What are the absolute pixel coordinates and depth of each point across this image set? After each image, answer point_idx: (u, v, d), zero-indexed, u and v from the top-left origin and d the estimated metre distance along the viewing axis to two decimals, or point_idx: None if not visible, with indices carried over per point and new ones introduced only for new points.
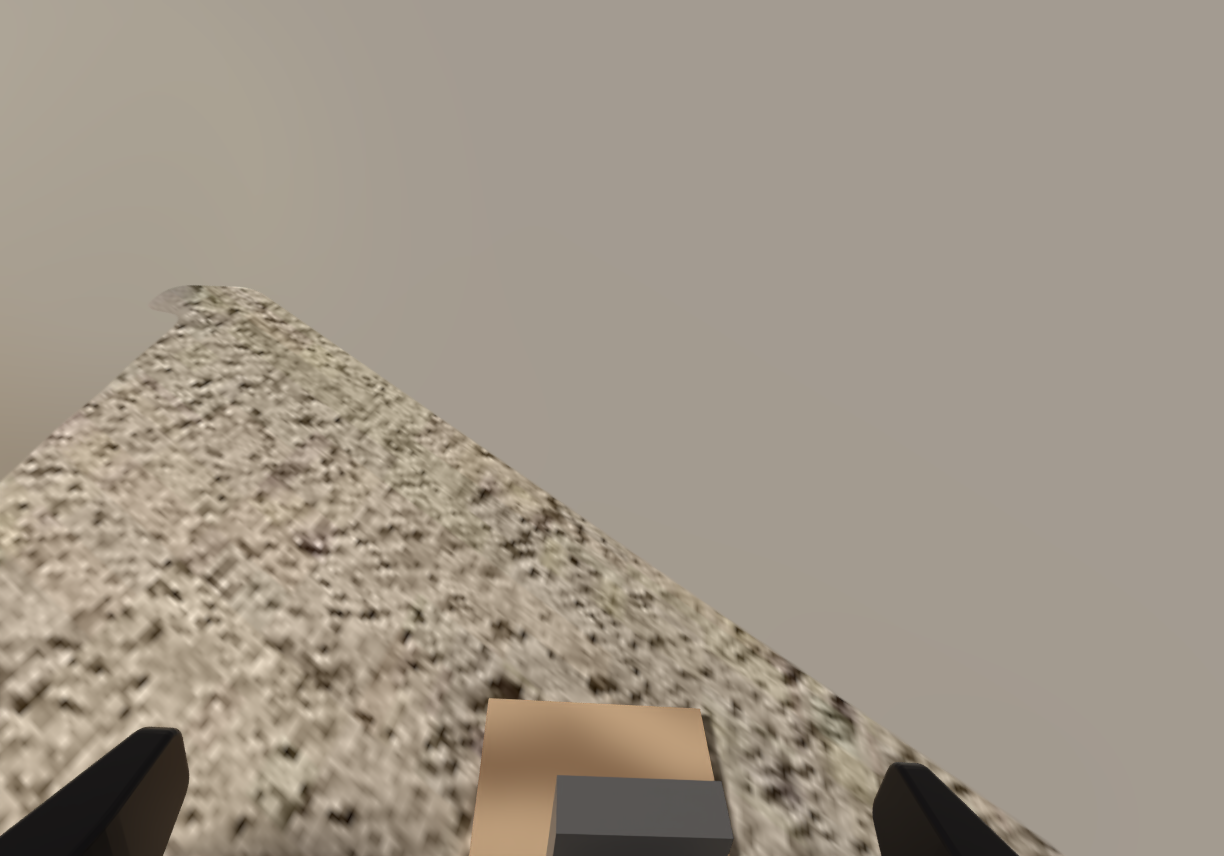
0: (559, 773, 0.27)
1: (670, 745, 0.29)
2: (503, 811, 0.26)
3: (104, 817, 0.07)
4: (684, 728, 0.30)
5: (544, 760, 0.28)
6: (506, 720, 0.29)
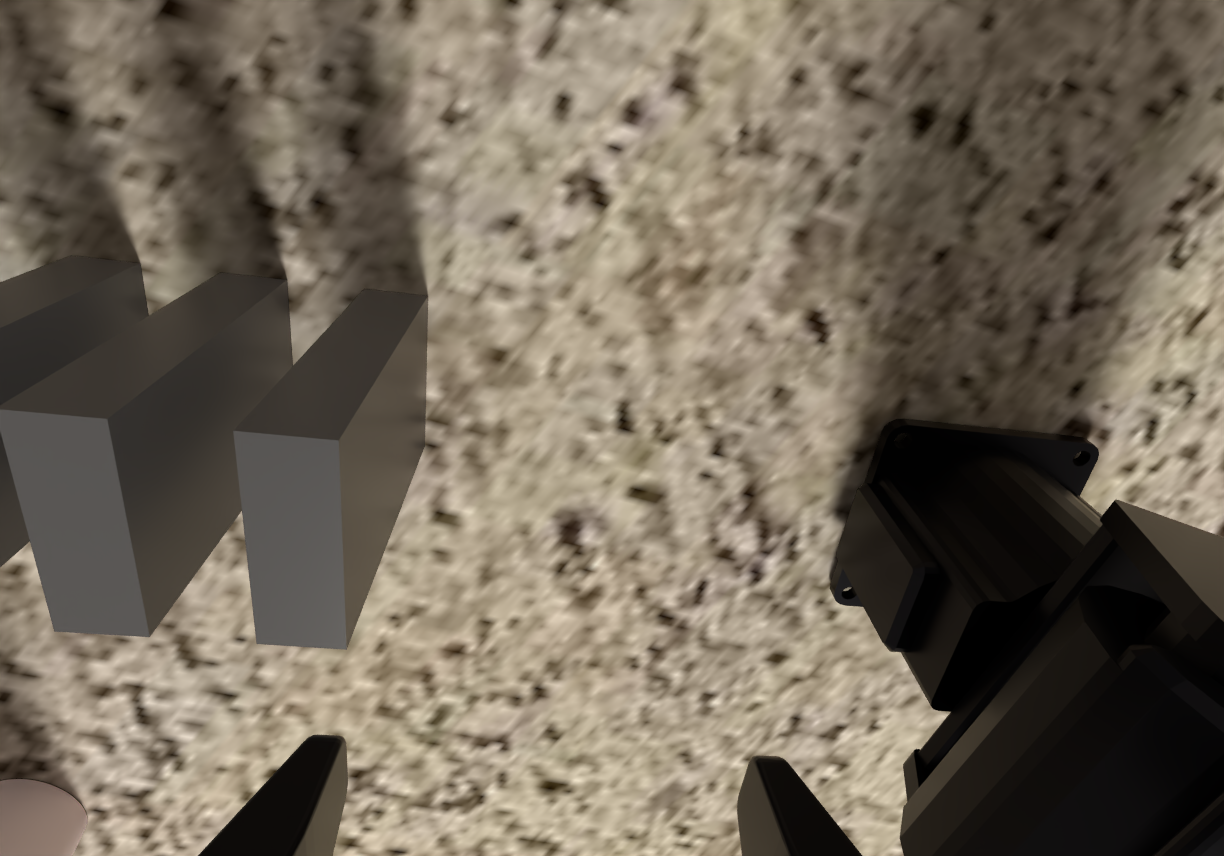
0: None
1: None
2: None
3: (301, 824, 0.07)
4: None
5: None
6: None
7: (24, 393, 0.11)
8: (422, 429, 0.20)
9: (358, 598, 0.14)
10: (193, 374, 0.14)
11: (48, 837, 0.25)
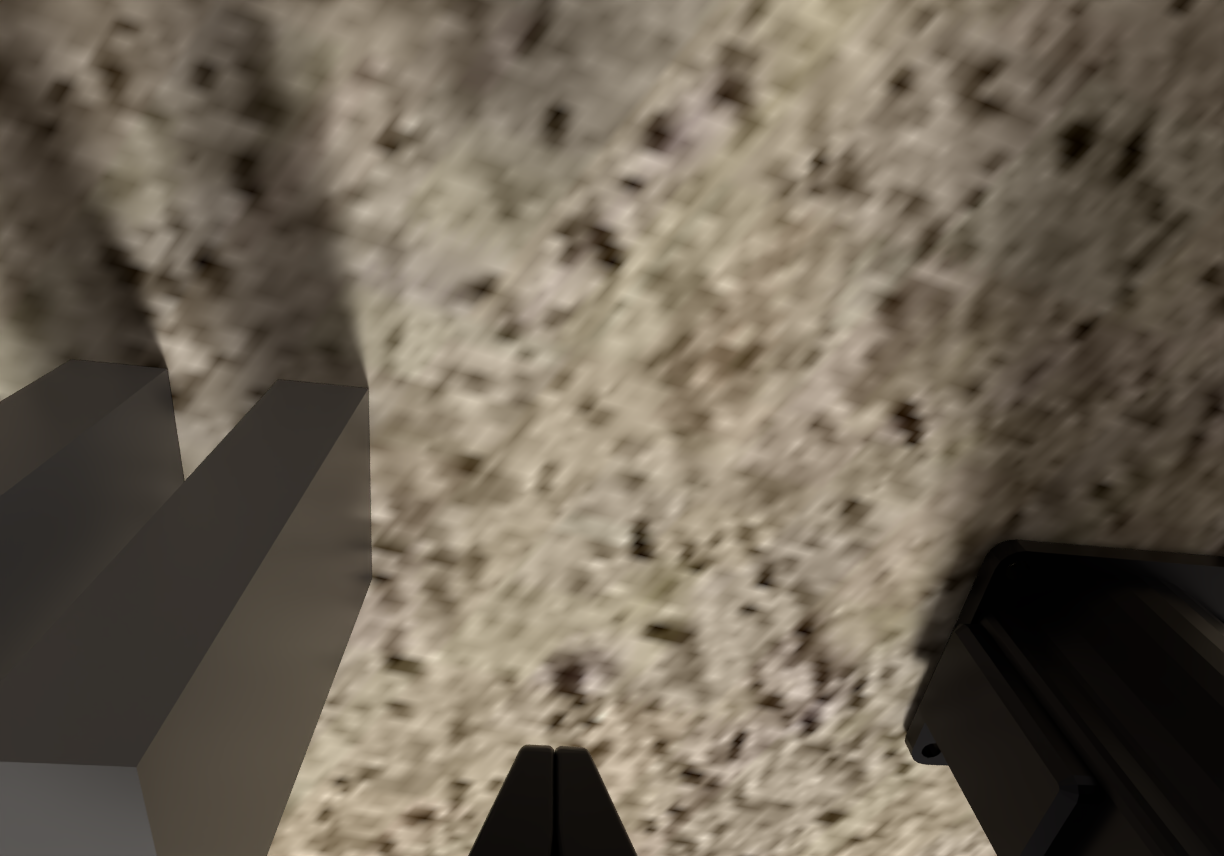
0: None
1: None
2: None
3: (548, 832, 0.08)
4: None
5: None
6: None
7: None
8: (366, 562, 0.14)
9: None
10: None
11: None
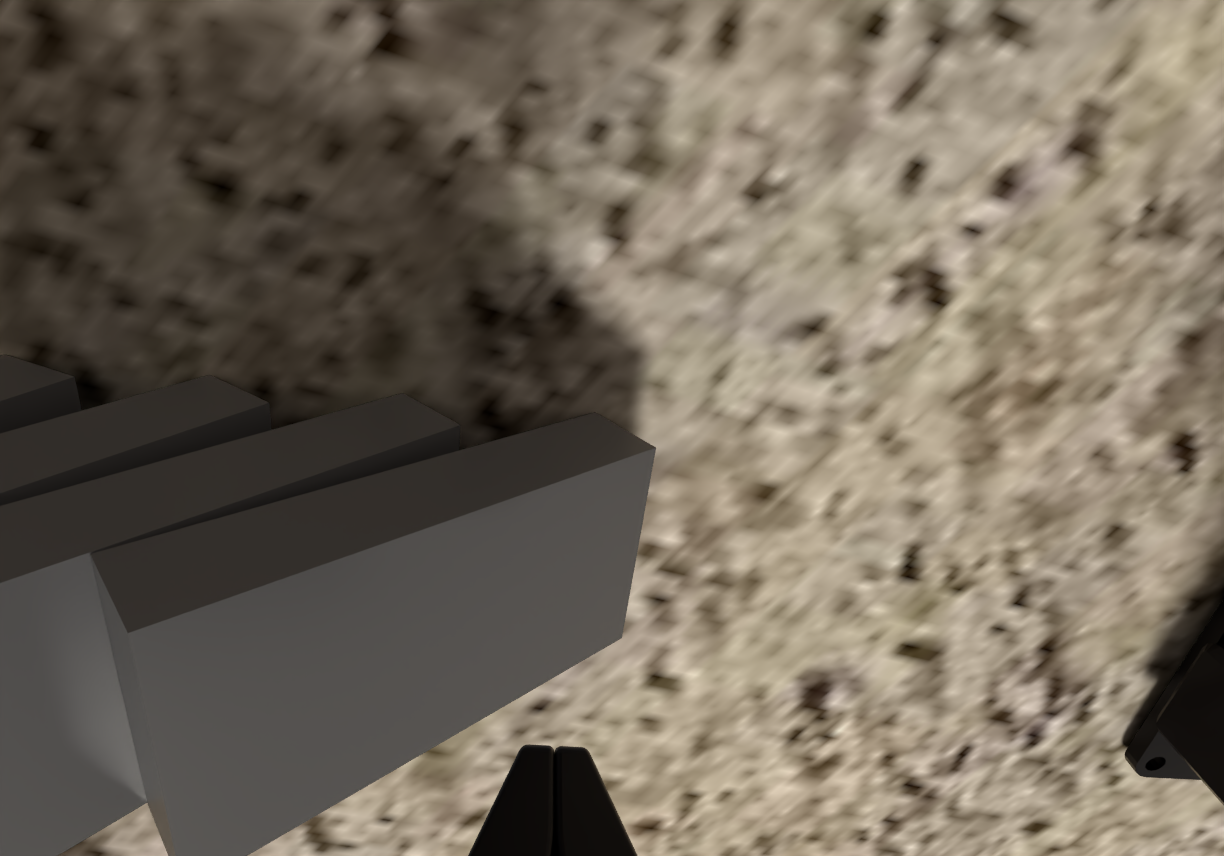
0: None
1: None
2: None
3: (548, 832, 0.08)
4: None
5: None
6: None
7: None
8: (611, 617, 0.14)
9: (251, 829, 0.10)
10: None
11: None
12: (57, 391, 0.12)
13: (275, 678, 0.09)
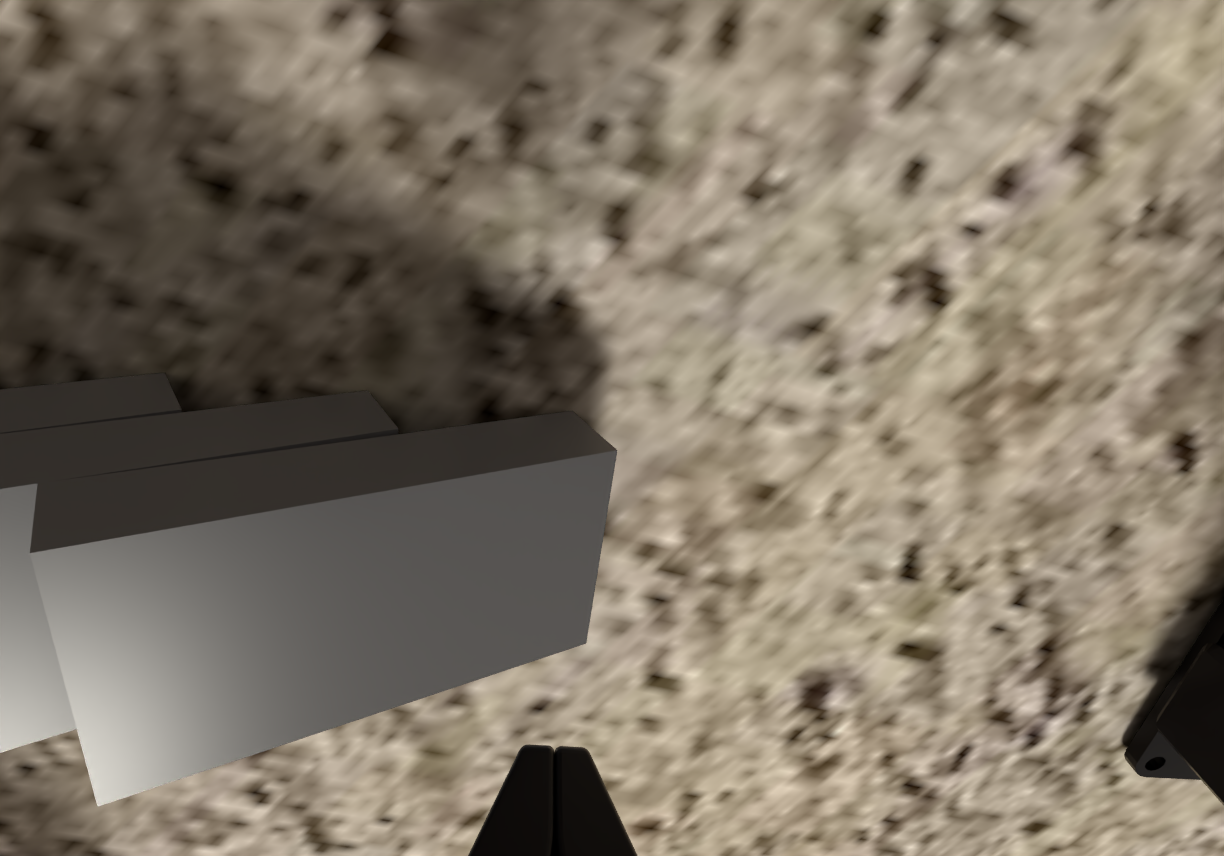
0: None
1: None
2: None
3: (548, 833, 0.08)
4: None
5: None
6: None
7: None
8: (571, 620, 0.14)
9: (166, 760, 0.10)
10: None
11: None
12: None
13: (184, 619, 0.10)
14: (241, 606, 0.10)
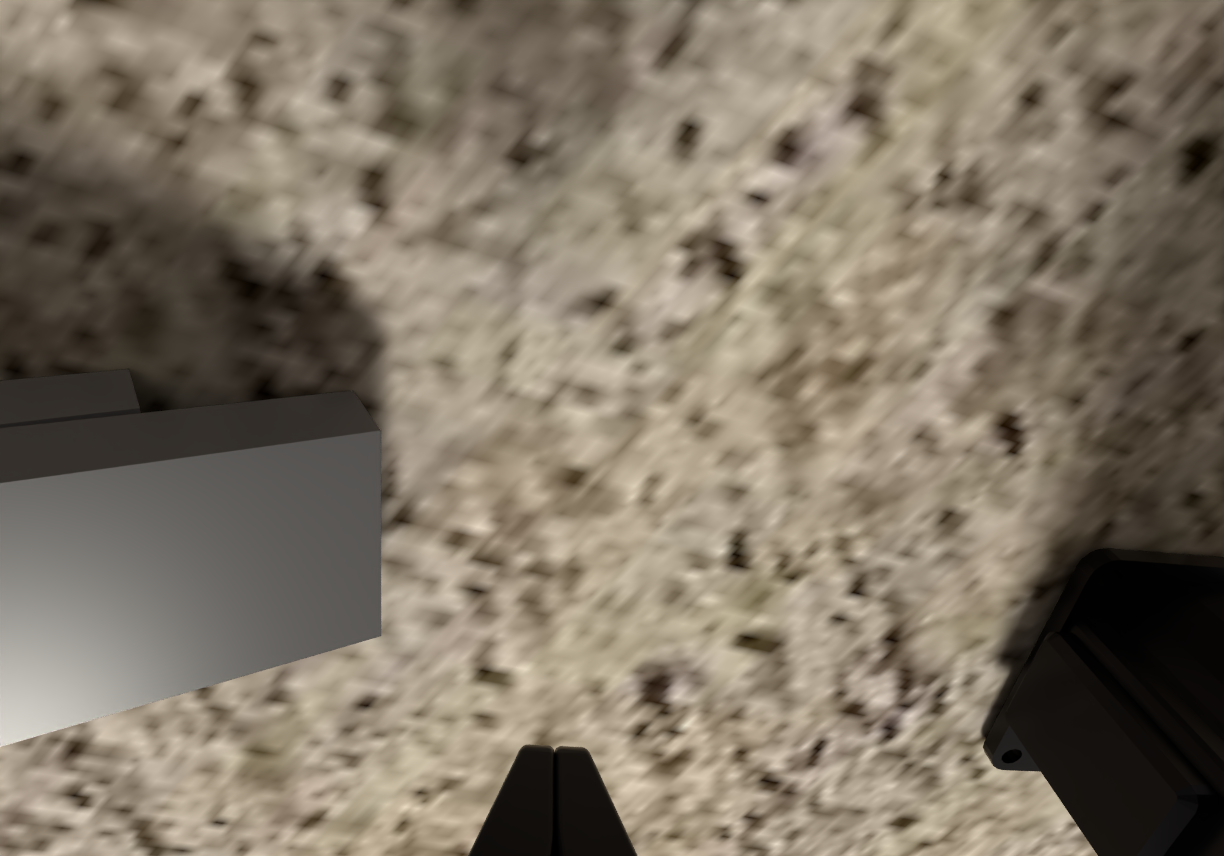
0: None
1: None
2: None
3: (548, 832, 0.08)
4: None
5: None
6: None
7: None
8: (357, 611, 0.13)
9: None
10: None
11: None
12: None
13: None
14: None
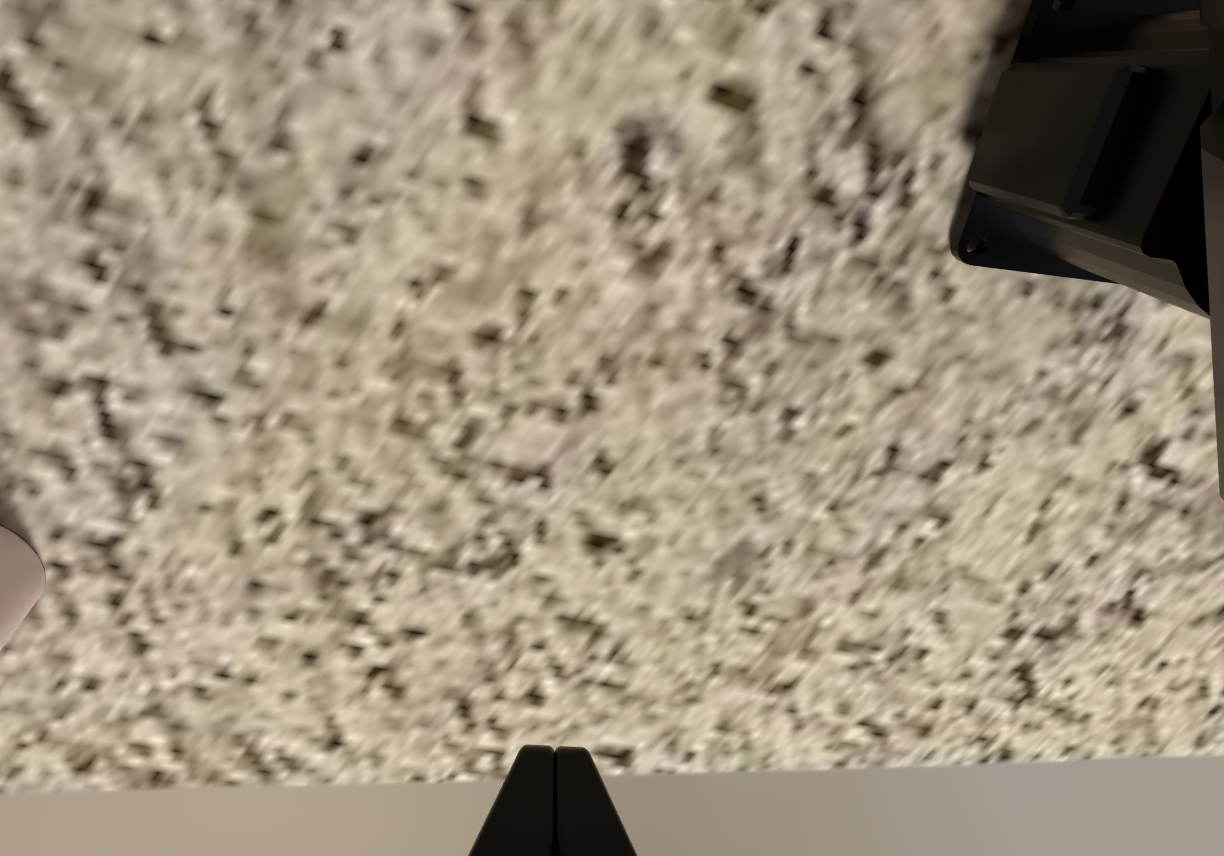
0: None
1: None
2: None
3: (547, 833, 0.08)
4: None
5: None
6: None
7: None
8: None
9: None
10: None
11: None
12: None
13: None
14: None
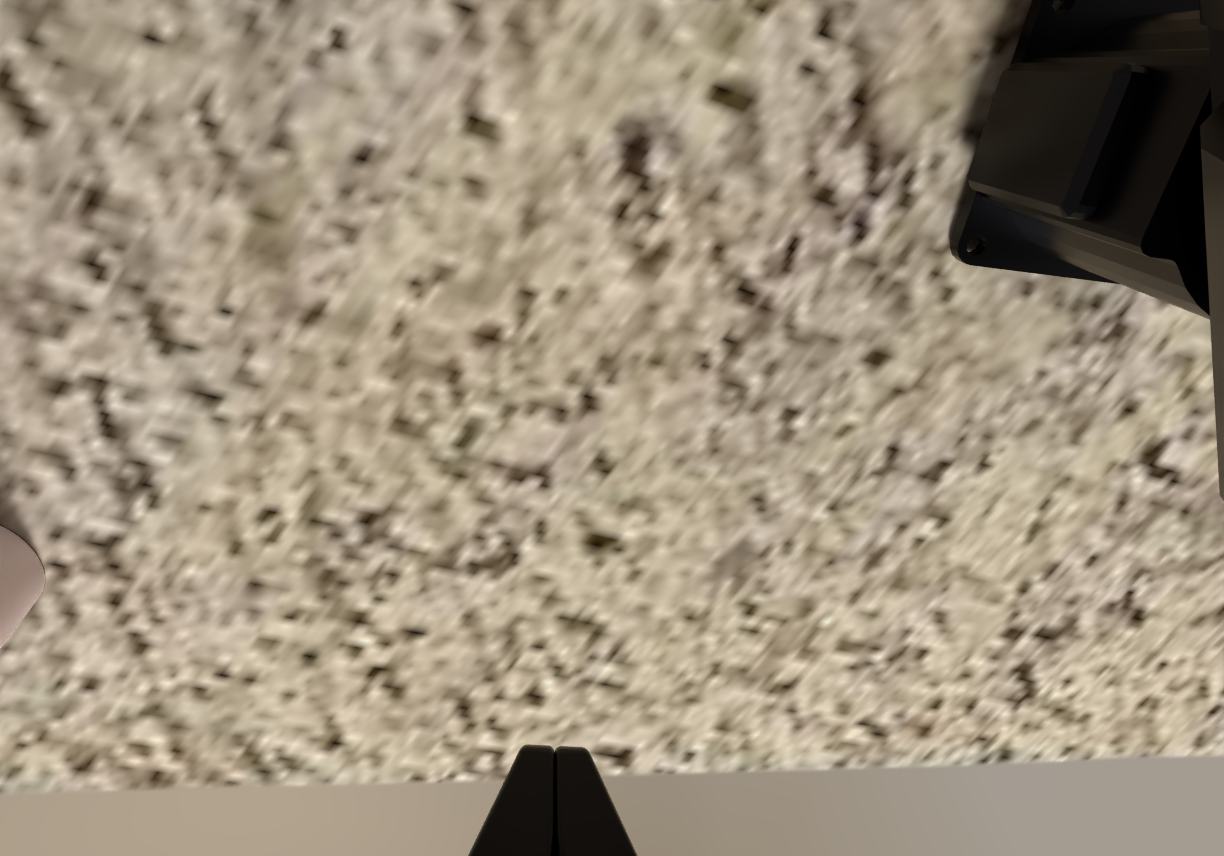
0: None
1: None
2: None
3: (548, 832, 0.08)
4: None
5: None
6: None
7: None
8: None
9: None
10: None
11: None
12: None
13: None
14: None
